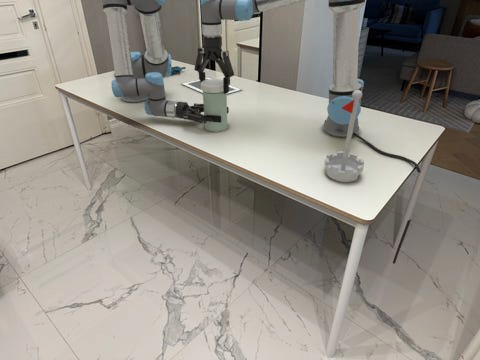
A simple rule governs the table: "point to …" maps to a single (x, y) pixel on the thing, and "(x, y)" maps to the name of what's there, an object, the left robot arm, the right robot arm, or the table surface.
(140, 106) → the table surface
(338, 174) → the flag stand
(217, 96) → the jar
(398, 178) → the table surface
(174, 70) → the submachine gun
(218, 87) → the lid
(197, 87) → the tablet
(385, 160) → the table surface
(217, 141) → the table surface
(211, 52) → the right robot arm
